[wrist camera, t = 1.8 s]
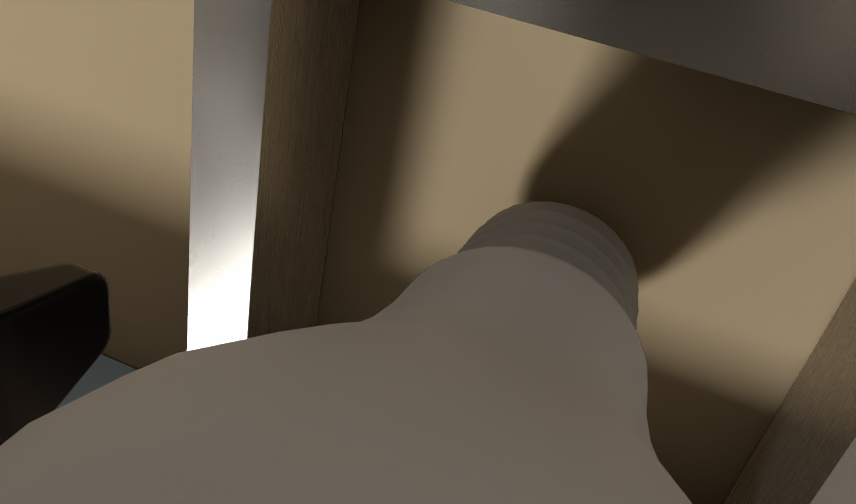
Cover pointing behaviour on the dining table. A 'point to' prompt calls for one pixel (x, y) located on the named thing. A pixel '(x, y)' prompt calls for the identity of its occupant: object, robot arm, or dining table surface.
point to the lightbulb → (390, 396)
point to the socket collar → (319, 153)
